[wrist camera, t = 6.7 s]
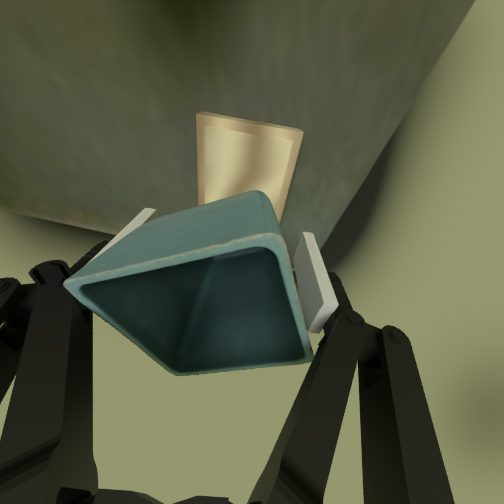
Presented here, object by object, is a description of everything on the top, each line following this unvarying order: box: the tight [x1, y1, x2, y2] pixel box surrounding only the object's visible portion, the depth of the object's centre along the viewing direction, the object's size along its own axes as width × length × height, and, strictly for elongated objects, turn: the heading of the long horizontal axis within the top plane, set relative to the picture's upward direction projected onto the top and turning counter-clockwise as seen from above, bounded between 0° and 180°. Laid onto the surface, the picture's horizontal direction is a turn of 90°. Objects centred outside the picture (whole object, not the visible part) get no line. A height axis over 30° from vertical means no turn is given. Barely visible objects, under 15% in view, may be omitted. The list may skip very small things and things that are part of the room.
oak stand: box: [196, 112, 304, 224], centre depth 27 cm, size 12×12×3 cm
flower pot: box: [63, 190, 314, 376], centre depth 13 cm, size 9×9×9 cm
